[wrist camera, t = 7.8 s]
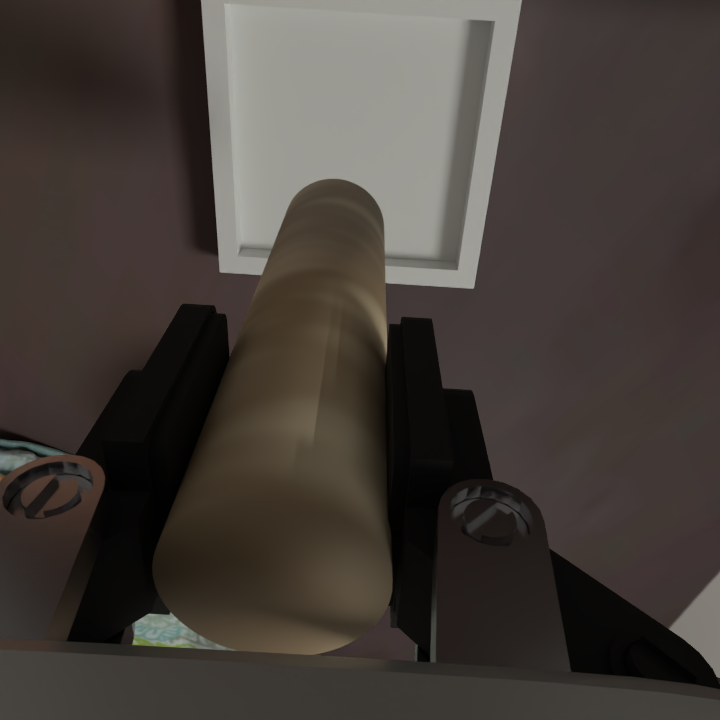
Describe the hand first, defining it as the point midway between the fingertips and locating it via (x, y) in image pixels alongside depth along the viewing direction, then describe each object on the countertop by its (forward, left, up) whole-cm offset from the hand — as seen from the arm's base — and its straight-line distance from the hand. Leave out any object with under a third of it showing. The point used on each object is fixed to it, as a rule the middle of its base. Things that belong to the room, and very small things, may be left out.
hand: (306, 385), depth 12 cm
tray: (0, 0, -17) cm, 17 cm away
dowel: (0, 0, -9) cm, 9 cm away
